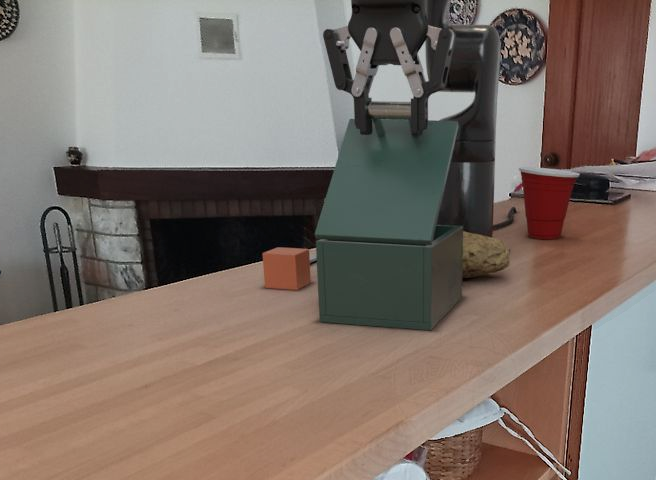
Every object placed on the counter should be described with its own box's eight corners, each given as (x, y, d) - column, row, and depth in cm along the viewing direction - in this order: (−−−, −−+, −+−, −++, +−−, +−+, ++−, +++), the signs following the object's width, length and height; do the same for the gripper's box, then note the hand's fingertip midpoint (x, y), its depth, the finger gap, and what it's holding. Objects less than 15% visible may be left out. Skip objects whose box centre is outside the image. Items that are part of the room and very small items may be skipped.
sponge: (350, 286, 108) (474, 272, 97) (346, 228, 107) (470, 208, 96) (406, 286, 119) (523, 274, 108) (402, 234, 118) (520, 217, 107)
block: (279, 280, 104) (277, 247, 103) (311, 282, 103) (309, 248, 102) (264, 288, 100) (262, 253, 99) (297, 290, 99) (295, 255, 98)
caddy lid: (351, 123, 89) (338, 87, 85) (458, 126, 87) (452, 88, 82) (316, 239, 82) (300, 206, 78) (431, 245, 80) (422, 212, 75)
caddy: (365, 290, 100) (363, 221, 96) (462, 297, 97) (463, 225, 94) (319, 322, 85) (315, 241, 82) (430, 330, 83) (431, 247, 80)
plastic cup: (579, 242, 137) (584, 171, 132) (517, 241, 137) (520, 170, 133) (571, 232, 147) (576, 166, 143) (514, 231, 147) (517, 165, 143)
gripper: (466, -42, 79) (463, 134, 86) (332, -39, 82) (340, 131, 89) (449, -54, 72) (448, 139, 79) (304, -50, 75) (315, 135, 82)
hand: (391, 134), depth 84 cm, fingers closed on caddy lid, 5 cm apart
